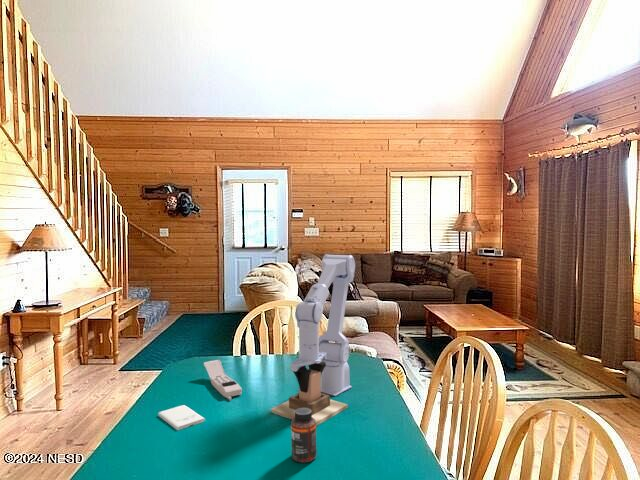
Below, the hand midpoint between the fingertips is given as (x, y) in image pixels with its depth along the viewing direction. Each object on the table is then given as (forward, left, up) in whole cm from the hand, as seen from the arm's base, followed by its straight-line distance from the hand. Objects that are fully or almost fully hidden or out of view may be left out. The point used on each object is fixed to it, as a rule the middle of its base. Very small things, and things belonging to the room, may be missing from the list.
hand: (309, 388), depth 141 cm
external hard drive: (+26, -25, -7) cm, 37 cm away
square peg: (0, 0, -3) cm, 3 cm away
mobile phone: (+3, -34, -7) cm, 35 cm away
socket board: (0, 0, -6) cm, 6 cm away
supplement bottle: (+21, +16, -6) cm, 28 cm away
